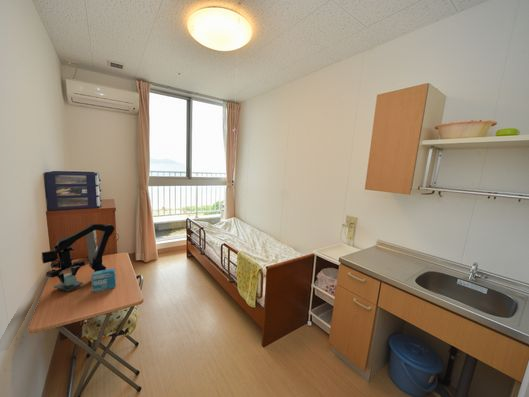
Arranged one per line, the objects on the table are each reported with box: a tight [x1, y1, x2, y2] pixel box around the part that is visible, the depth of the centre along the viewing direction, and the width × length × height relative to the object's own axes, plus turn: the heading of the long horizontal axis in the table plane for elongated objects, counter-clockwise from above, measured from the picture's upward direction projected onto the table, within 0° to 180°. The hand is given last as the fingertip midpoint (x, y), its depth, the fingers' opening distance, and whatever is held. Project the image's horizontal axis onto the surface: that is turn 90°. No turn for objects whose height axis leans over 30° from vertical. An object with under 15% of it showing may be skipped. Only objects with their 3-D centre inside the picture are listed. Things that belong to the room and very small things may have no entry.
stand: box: [53, 280, 84, 293], centre depth 142 cm, size 13×9×2 cm
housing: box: [59, 272, 78, 286], centre depth 142 cm, size 5×10×4 cm, turn 63°
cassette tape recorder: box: [85, 230, 98, 261], centre depth 189 cm, size 14×6×25 cm, turn 32°
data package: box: [90, 268, 117, 293], centre depth 141 cm, size 12×4×12 cm, turn 121°
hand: (68, 280), depth 142 cm, fingers closed on housing, 5 cm apart
